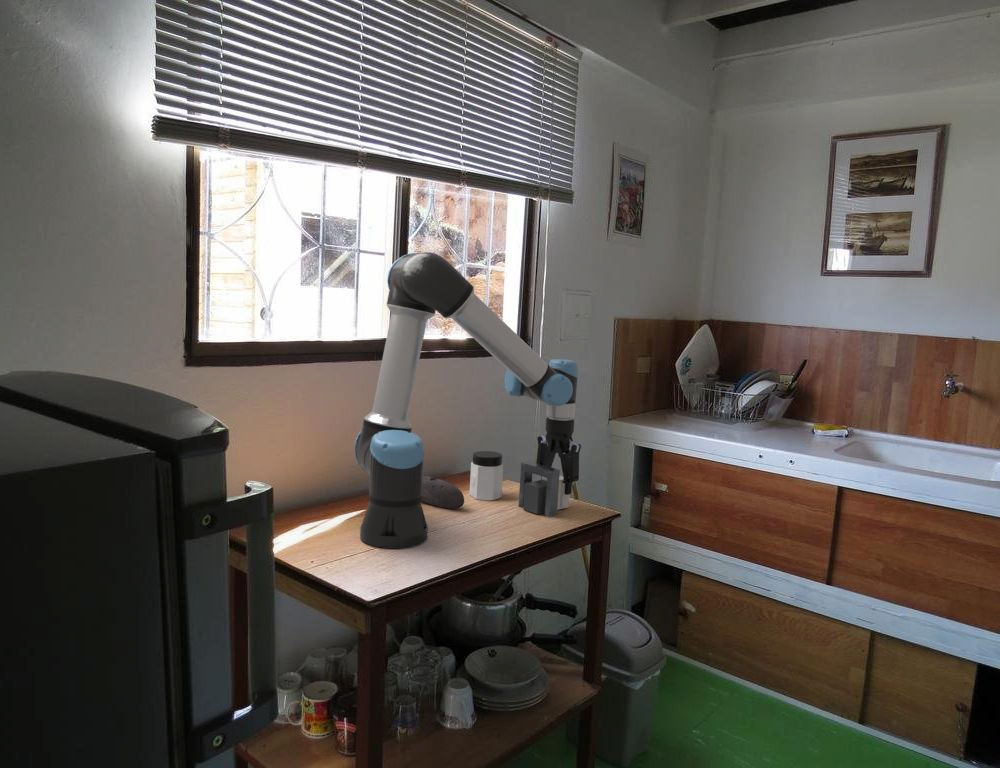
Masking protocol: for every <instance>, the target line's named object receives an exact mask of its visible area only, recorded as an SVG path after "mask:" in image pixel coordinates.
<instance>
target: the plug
mask: <svg viewBox="0 0 1000 768" xmlns="http://www.w3.org/2000/svg"><path fill="white" fill-rule="evenodd" d="M562 481H564V478H563V474H560V476H559V491H558V506H557V511H558V510H562V509H566V508H567V509H568V508H570V504H569V505H567V506H563V507H561V506H560V496H561V482H562ZM546 489H547V478H546V477H543V476H542V480H541V479H539V480H534V481H533V480H532V482H528V483H525V487H524V503H523V508H522V510H524V511H527V512H529V513H533V514H536V515H539V514H542V513H543V514H545V504H546ZM570 496H571V494H569V501H570V500H571V497H570Z"/></svg>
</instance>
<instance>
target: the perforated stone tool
mask: <svg viewBox="0 0 1000 768" xmlns="http://www.w3.org/2000/svg"><path fill="white" fill-rule="evenodd" d="M421 502H424V503H425V504H428V505H430V506H431V505H433V506H436V507H440V508H445V509H449V510H450V509H451V510H453V509H454V510H456V509H457V510H458V509H461V507H463V506H464V505H465V496H464V494H463V492H462V491H461V490H460V489H459V488H458V487H457V486H455V485H454V484H452V483H450V482H448V481H445V480H442V479H440V478H437V477H432V476H429V475H423V476H422V497H421Z"/></svg>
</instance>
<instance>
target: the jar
mask: <svg viewBox="0 0 1000 768" xmlns="http://www.w3.org/2000/svg"><path fill="white" fill-rule="evenodd" d="M469 477H470V479H469V480H470V481H469V496H470V495H471V496H470V497H472V498H474V499H475V500H479V501H491V500H492V501H495V500H497V499H500V498H502V496H503V480H504V479H503V478H504V464H503V454H502V453H501V452H497V451H489V450H481V451H475V452H473V453H472V461H471V462H470V475H469Z"/></svg>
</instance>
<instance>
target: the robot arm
mask: <svg viewBox="0 0 1000 768" xmlns="http://www.w3.org/2000/svg"><path fill="white" fill-rule="evenodd" d="M386 278H387V279H386V281H387V287H388V295H387V301H386V307H387V309H388V310H389V311H390V320H389V325H388V329H387V333H386V334H387V335H386V339H385V344H384V348H383V354H382V359H381V364H380V369H379V374H378V380H377V385H376V390H375V395H374V401H373V403H372V404H373V405H372V410H371V412H369V413H368V414H367V415H365V416H364V417H363V423H362V428H361V431H359V433H358V434H357V435H356V438H355V440H354V448H353V449H354V456H355V458H356V461H357V463H358V465H359V466H360V467H361V469H362V470H363V471H364V472H366V473H367V474H368V475H369V496H368V498H369V499H368V501H369V502H368V506H367V507H366V510H365V514H364V517H363V520H362V523H361V524H360V528H359V538H360V540H361V541H362V542H363V543H365V544H367V545H368V546H369V545H370V546H373V547H378V548H382V549H383V548H384V549H404V548H411V547H417V546H418V545H421V544H423V543H424V542H426V541H427V539H428V536H429V535H428V533H429V527H428V524H427V520H426V516H425V513H424V509H423V506H422V501H421V497H422V476H424V475H423V473H424V458H425V449H424V441H423V439H422V437H420V436H419V435H417V434H416V433H414V432H412V430H413V425H412V423H411V422H410V420H409V418H408V416H409V412H410V408H411V407H410V406H411V402H412V397H413V393H414V388H415V387H414V386H415V382H416V377H417V373H418V367H419V362H420V358H421V352H422V348H423V344H424V343H423V342H424V337H425V333H426V327H427V323H428V321H429V320H430V319H431V318H433V317H435V314H436V312H438V314H440V315H441V316H442V317H443V318H444V319H452V320H453V321H454V322H455V323H456V324H457V325H458V326H459V327H461V328H462V329H463V331H465V332H466V334H468V335H469V336H470V337H472V338H473V339H474V341H476V342H477V343H478V344H479V345H480V346H481V347H482V348H483V349H484V350H485V351H487V352H488V353H489V354H490V355H491V356H492V357H494V358H495V359H496V360H497V361H498V362H499V364H501V365H502V366H503V367H504V368H505V369H507V370H506V372H505V376H504V388H505V391H506V393H507V395H509V396H510V397H512V396H513V397H528V398H530V399H533V400H535V401H536V400H537V401H538V402H541V403H544V404H546V412H545V413H546V414H545V416H547V418H546V419H545V432H546V434H545V435H541V436H538V437H537V438H536V439H537V454H536V462H535V463H537V464H541V465H544V466H548V467H551V468H553V464H554V460H555V456H556V455H557V454H558V455H557V456H558V457H559V459H560V465H561V470H562V471H561V472H562V475H563V478H564V481H562V482H561V496H560V506H561V507H563V506H567V505H569V506H570V500H569V494H570V495H571V494H572V487H573V482H579V480H580V452H581V448H582V445H581V443H578V444H577V443H576V442H574V440H573V435H574V431H575V420H574V418H575V416H576V415H575V414H576V402H577V401H576V400H577V399H576V398H577V388H578V386H577V385H578V379H579V376H578V375H579V373H578V369H579V368H578V363H577V362H576V361H575V360H572V359H563V358H562V359H561V358H553V359H552V358H551V359H550V360H549V363H547V362H546V361H545V360H544V358H542V357H541V356H540V355H539V354H537V352H536V351H535V350H533V348H531V346H529V345H528V344H527V343H526V342H525V341H524V339H522V338H521V337H520V336H519V335H518V334H517V333H516V332H515V331H514V330H513V329H511V327H509V326H508V324H507V323H506V322H504V320H502V319H501V317H499V316H498V315H497V314H496V313H495V312H494V311H493V310H492V308H490V307H489V306H488V305H487V304H486V303H485V302H484V301H483V300H482V299H481V298H479V296H478V295H476V293H475V286H474V285H473V284H472V283H471V282H469V281H468V280H467V278H465V276H463V275H462V274H461V273H460V272H459V271H458V269H456V268H455V267H454V266H453V265H452V264H451V263H450V262H449V261H448V260H447V259H445V258H444V257H443V256H441V255H440V254H437V253H436V252H435V253H434V252H428V251H426V252H419V253H418V252H417V253H416V252H413V253H407V254H404V255H402V256H401V257H399V258H398V259H396V260H395V261H394V262H393V263H392V265H391V266H390V268H389V270H388V274H387V277H386ZM540 480H542V476H540Z"/></svg>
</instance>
